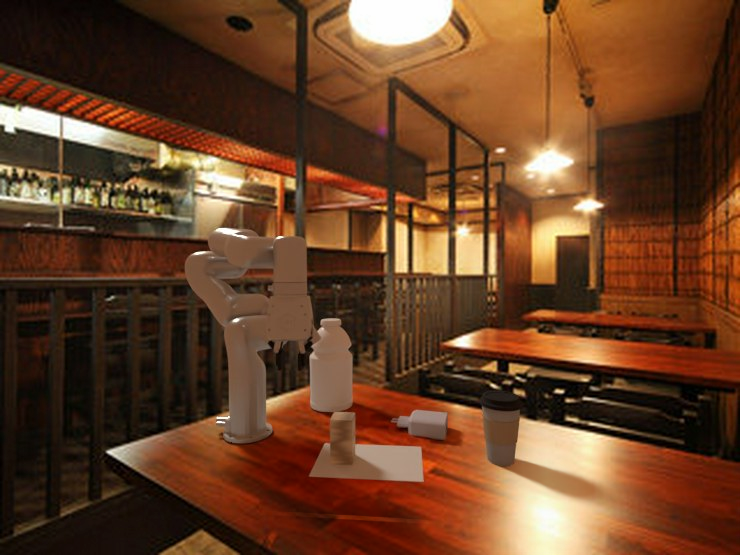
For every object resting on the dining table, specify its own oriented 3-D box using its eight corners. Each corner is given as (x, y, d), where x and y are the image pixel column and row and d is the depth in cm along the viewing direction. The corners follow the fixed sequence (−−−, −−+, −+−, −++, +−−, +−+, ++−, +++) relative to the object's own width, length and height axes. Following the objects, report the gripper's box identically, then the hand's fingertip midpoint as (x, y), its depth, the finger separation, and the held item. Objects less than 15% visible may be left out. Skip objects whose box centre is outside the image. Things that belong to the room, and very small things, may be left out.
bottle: (320, 396, 137) (319, 316, 136) (358, 400, 133) (357, 317, 133) (302, 411, 123) (301, 321, 123) (344, 415, 120) (344, 322, 119)
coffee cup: (523, 455, 93) (523, 392, 93) (520, 474, 85) (520, 404, 84) (482, 447, 97) (482, 387, 97) (475, 465, 89) (475, 398, 88)
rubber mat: (308, 479, 83) (308, 476, 83) (324, 445, 99) (324, 443, 99) (423, 484, 81) (423, 481, 81) (421, 449, 97) (421, 446, 97)
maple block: (329, 464, 88) (329, 419, 88) (333, 453, 93) (333, 411, 93) (352, 465, 88) (352, 420, 87) (355, 454, 93) (355, 412, 92)
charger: (395, 422, 114) (447, 428, 110) (387, 435, 105) (445, 442, 101) (395, 406, 114) (447, 411, 110) (387, 418, 105) (445, 423, 101)
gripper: (248, 291, 88) (249, 372, 88) (322, 291, 86) (323, 374, 87) (261, 289, 95) (262, 364, 96) (329, 289, 94) (330, 366, 94)
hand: (291, 368), depth 91 cm, fingers open, 4 cm apart
